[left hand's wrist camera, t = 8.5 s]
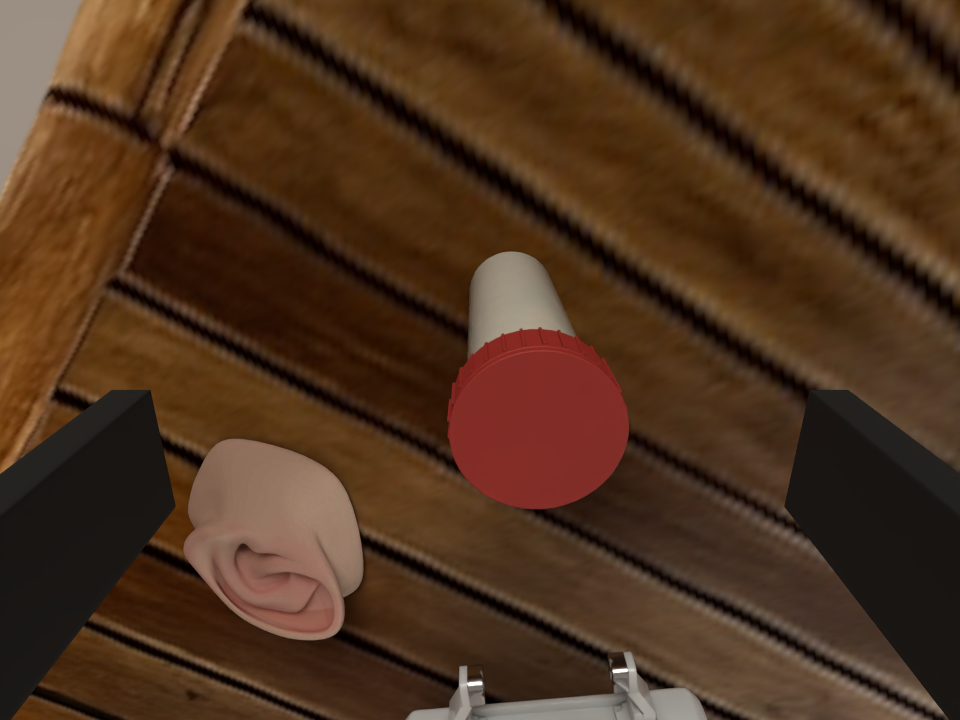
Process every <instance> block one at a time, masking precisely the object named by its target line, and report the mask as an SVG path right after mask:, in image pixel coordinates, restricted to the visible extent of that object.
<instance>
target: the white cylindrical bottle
mask: <svg viewBox="0 0 960 720" xmlns="http://www.w3.org/2000/svg"><path fill="white" fill-rule="evenodd" d="M538 327H542V329H546V330H553V331H557V330H561V332H562V333H565V334H567V335H570V336H573V337H575V336H576V334H575V331H574V329H573V327H572V325H571V323H570V320H569V318H568V316H567V314H566V312H565V309H564V307H563V305H562V303H561V301H560V298H559V296H558V294H557V292H556V290H555V287H554V285H553V283H552V281H551V278H550V276H549V274H548V272H547V271H546V269H545V268H544V266H543V265H542V264H541V263H540V262H539V261H537V260H536V259H535V258H533V257H531V256H529V255H527V254H524V253H520V252H503V253H500V254H496V255H494V256H492V257H490V258H489V259H487V260H486V261H484V262H483V263H482V264H481V265H480V266H479V268H478V269H477V270H476V272H475V274H474V275H473V278H472V280H471V284H470V291H469V323H468V356H467V361H468V360H469V359H470V355H471V354H472V353H473V354H475V353H476V352H477V351H478V350H479V349H480V348H481V347H483V346H484V343H485V342H487V343H489V342H490V341H492V340H494V339H496V338H498V337H500V336H501V334H502V333H504V335H505V334H508V333H511V332H515V331H520V330H519V329H521V328H522V329H523V330H526V329H538Z"/></svg>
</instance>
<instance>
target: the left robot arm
mask: <svg viewBox="0 0 960 720" xmlns="http://www.w3.org/2000/svg"><path fill="white" fill-rule="evenodd" d="M175 507H176V506H175V501H174V497H173V492H172V488H171V483H170V478H169V474H168V469H167V465H166V460H165V455H164V451H163V446H162V442H161V437H160V432H159V428H158V423H157V419H156V414H155V409H154V405H153V400H152V396H151V391H150V390H111V391H110V392H109V393H107V394H106V395H105V396H103V397H102V398H101V399H99V400H98V401H97V402H95V403H94V404H93V405H91V406H90V407H89V408H87V409H86V410H85V411H83V412H82V413H81V414H79V415H78V416H77V417H75V418H74V419H73V420H71V421H70V422H69V423H67V424H66V425H65V426H63V427H62V428H61V429H59V430H58V431H57V432H55V433H54V434H53V435H51V436H50V437H49V438H48V439H46V440H45V441H44V442H42V443H41V444H40V445H38V446H37V447H36V448H34V449H33V450H32V451H30V452H29V453H28V454H26V455H25V456H24V457H22V458H21V459H20V460H18V461H17V462H16V463H14V464H13V465H12V466H10V467H9V468H8V469H6V470H5V471H4V472H2V473H1V474H0V720H11V719H12V718H13V716H14V715H15V714H16V712H17V711H18V710H19V708H20V707H21V706H22V705H23V703H24V702H25V701H26V699H27V698H28V697H29V696H30V694H31V693H32V692H33V690H34V689H35V688H36V686H37V685H38V684H39V683H40V681H41V680H42V679H43V677H44V676H45V675H46V674H47V672H48V671H49V670H50V668H51V667H52V666H53V664H54V663H55V662H56V661H57V659H58V658H59V657H60V655H61V654H62V653H63V652H64V650H65V649H66V648H67V646H68V645H69V644H70V642H71V641H72V640H73V639H74V637H75V636H76V635H77V633H78V632H79V631H80V630H81V628H82V627H83V626H84V624H85V623H86V622H87V620H88V619H89V618H90V617H91V615H92V614H93V613H94V611H95V610H96V609H97V608H98V606H99V605H100V604H101V602H102V601H103V600H104V598H105V597H106V596H107V595H108V593H109V592H110V591H111V589H112V588H113V587H114V586H115V584H116V583H117V582H118V580H119V579H120V578H121V576H122V575H123V574H124V573H125V571H126V570H127V569H128V567H129V566H130V565H131V564H132V562H133V561H134V560H135V558H136V557H137V556H138V554H139V553H140V552H141V551H142V549H143V548H144V547H145V545H146V544H147V543H148V542H149V540H150V539H151V538H152V536H153V535H154V534H155V532H156V531H157V530H158V529H159V527H160V526H161V525H162V523H163V522H164V521H165V520H166V518H167V517H168V516H169V514H170V513H171V512H172V511H173V509H174V508H175ZM784 507H785V508H786V509H787V511H788V512H789V513H790V514H791V516H792V517H793V518H794V520H795V521H796V522H797V523H798V525H799V526H800V527H801V529H802V530H803V531H804V532H805V534H806V535H807V536H808V538H809V539H810V540H811V542H812V543H813V544H814V545H815V547H816V548H817V549H818V551H819V552H820V553H821V554H822V556H823V557H824V558H825V560H826V561H827V562H828V564H829V565H830V566H831V567H832V569H833V570H834V571H835V573H836V574H837V575H838V576H839V578H840V579H841V580H842V582H843V583H844V584H845V586H846V587H847V588H848V589H849V591H850V592H851V593H852V595H853V596H854V597H855V598H856V600H857V601H858V602H859V604H860V605H861V606H862V608H863V609H864V610H865V611H866V613H867V614H868V615H869V617H870V618H871V619H872V620H873V622H874V623H875V624H876V626H877V627H878V628H879V630H880V631H881V632H882V633H883V635H884V636H885V637H886V639H887V640H888V641H889V642H890V644H891V645H892V646H893V648H894V649H895V650H896V652H897V653H898V654H899V655H900V657H901V658H902V659H903V661H904V662H905V663H906V664H907V666H908V667H909V668H910V670H911V671H912V672H913V674H914V675H915V676H916V677H917V679H918V680H919V681H920V683H921V684H922V685H923V686H924V688H925V689H926V690H927V692H928V693H929V694H930V696H931V697H932V698H933V699H934V701H935V702H936V703H937V705H938V706H939V707H940V708H941V710H942V711H943V712H944V714H945V715H946V716H947V718H948V719H949V720H960V474H959V473H958V472H956V471H955V470H954V469H952V468H951V467H950V466H948V465H947V464H946V463H944V462H943V461H942V460H940V459H939V458H938V457H936V456H935V455H934V454H932V453H931V452H930V451H928V450H927V449H926V448H924V447H923V446H922V445H920V444H919V443H918V442H916V441H915V440H914V439H912V438H911V437H910V436H909V435H907V434H906V433H905V432H903V431H902V430H901V429H899V428H898V427H897V426H895V425H894V424H893V423H891V422H890V421H889V420H887V419H886V418H885V417H883V416H882V415H881V414H879V413H878V412H877V411H875V410H874V409H873V408H871V407H870V406H869V405H867V404H866V403H865V402H863V401H862V400H861V399H859V398H858V397H857V396H855V395H854V394H853V393H851V392H850V391H849V390H810V391H809V396H808V400H807V405H806V409H805V414H804V419H803V423H802V428H801V432H800V437H799V442H798V446H797V451H796V455H795V460H794V465H793V469H792V474H791V478H790V483H789V488H788V492H787V497H786V501H785V506H784Z"/></svg>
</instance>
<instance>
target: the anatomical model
mask: <svg viewBox="0 0 960 720" xmlns="http://www.w3.org/2000/svg"><path fill="white" fill-rule="evenodd" d="M188 513H189V518H190V520H191V522H192V524H193V526H194V527H195V530H194V531H193V532H192V533H191V534H190V535H189V536H188V537H187V539H186V541H185V543H184V554H185V557H186V558H187V560H188V561H189V563H190V564H191V565H192V566H193V567H194V568H195V570H196V571H197V572H198V573H199V574H200V576H201V577H202V578H203V579H204V580H205V581H206V583H207V584H208V585H209V586H210V587H211V588H212V590H213V591H214V592H215V593H216V594H217V595H218V597H219V598H220V599H221V600H222V601H223V602H224V603H225V604H226V605H227V606H228V607H229V608H230V609H231V610H232V611H234V612H235V613H236V614H237V615H238V616H240V617H241V618H243V619H244V620H246V621H247V622H249V623H251V624H253V625H255V626H257V627H259V628H261V629H263V630H265V631H268V632H270V633H273V634H276V635H279V636H282V637H286V638H291V639H298V640H320V639H325V638H329V637H331V636H333V635H335V634H336V633H337V632H338V631H339V630H340V628H341V627H342V624H343V622H344V616H345V606H344V599H343V597H345V596H347V595H349V594H351V593H352V592H354V591H355V590H356V589H357V588H358V587H359V585H360V583H361V581H362V578H363V553H362V545H361V539H360V534H359V529H358V525H357V521H356V517H355V514H354V511H353V507H352V505H351V502H350V499H349V497H348V494H347V492H346V490H345V488H344V487H343V485H342V484H341V482H340V481H339V480H338V478H337V477H336V476H335V475H334V474H333V473H332V472H330V471H329V470H328V469H327V468H325V467H324V466H322V465H321V464H319V463H317V462H316V461H314V460H312V459H310V458H308V457H306V456H303V455H301V454H298V453H296V452H293V451H291V450H287V449H284V448H281V447H278V446H274V445H270V444H266V443H262V442H258V441H252V440H246V439H228V440H224V441H221V442H219V443H217V444H216V445H215V446H214V447H213V448H212V449H211V450H210V452H209V453H208V455H207V456H206V458H205V460H204V462H203V464H202V466H201V468H200V470H199V472H198V474H197V476H196V478H195V481H194V483H193V487H192V491H191V495H190V499H189V505H188Z"/></svg>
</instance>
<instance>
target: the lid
mask: <svg viewBox="0 0 960 720" xmlns="http://www.w3.org/2000/svg"><path fill="white" fill-rule="evenodd" d="M519 330H520V331H515V332H511V333H508V334H505V335H504V333H502V334H501V336H500V337H498V338H496V339H494V340H492V341H490V342H489V343H487V342H485V343H484V346H483V347H481V348H480V349H479V350H478V351H477V352H476V353H475V354H473V353H472V354H471V355H470V359H469V360H468V361H467V362H466V364H465V365H464V366H463V368H462V367H460V369H459V375H458V377H457V380H456V382H455V383H453V384H452V394H451V399H449V408H448V419H447V421H449V429H448V439H449V440H450V446H451V451H452V454H453V457H454V459H455V462H456V464H457V466H458V467H459V469H460V471H461V472H462V474H463V475H464V476H465V478H466V479H467V480H468V481H469V482H470V483H471V484H472V485H473V486H474V487H475V488H476V489H478V490H479V491H480V492H481V493H483V494H484V495H486V496H488V497H489V498H491V499H493V500H495V501H498V502H500V503H503V504H506V505H509V506H513V507H518V508H525V509H546V508H554V507H558V506H562V505H566V504H569V503H571V502H574V501H577V500H579V499H581V498H583V497H585V496H586V495H588V494H589V493H591V492H592V491H594V490H595V489H597V488H598V487H599V486H600V485H601V484H603V483H604V482H605V481H606V479H607V478H608V477H609V476H610V475H611V474H612V472H613V471H614V470H615V468H616V467H617V465H618V463H619V462H620V460H621V458H622V456H623V453H624V450H625V448H626V444H627V439H628V431H629V422H628V413H627V406H626V404H625V402H624V400H623V397H622V395H621V393H623V392H622V390H621V388H620V386H619V384H618V382H617V380H616V378H615V376H614V375H613V373H612V372H611V370H610V369H609V367H608V365H607V363H606V361H605V359H604V358H602V359H601V358H600V357H599V355H598V354H597V353H596V352H595V350H594V348H593V347H592V346H591V345H590V346H588V345H586V344H585V343H583V342H582V341H580V340H579V338H578V337H577V336H575V337H573V336H570V335H567V334H565V333H562V332H561V330H557V331H553V330H546V329H542V327H538V329H526V330H523V329H522V328H521V329H519Z"/></svg>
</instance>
